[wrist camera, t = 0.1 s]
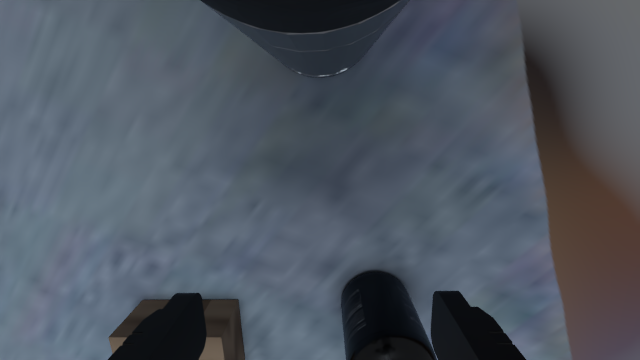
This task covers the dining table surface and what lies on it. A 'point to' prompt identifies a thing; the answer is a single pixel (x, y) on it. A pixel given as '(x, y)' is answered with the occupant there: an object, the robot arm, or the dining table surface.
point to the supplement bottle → (382, 321)
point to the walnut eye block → (221, 325)
